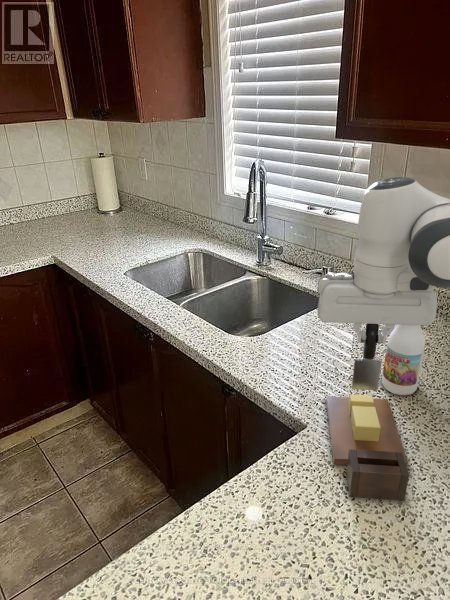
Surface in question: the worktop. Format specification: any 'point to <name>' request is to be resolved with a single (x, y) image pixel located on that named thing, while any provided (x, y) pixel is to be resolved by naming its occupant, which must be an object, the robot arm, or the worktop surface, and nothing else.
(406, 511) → the worktop surface
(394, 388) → the milk bottle
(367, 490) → the knife block
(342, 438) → the board
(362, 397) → the butter slice
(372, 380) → the knife
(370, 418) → the butter block
